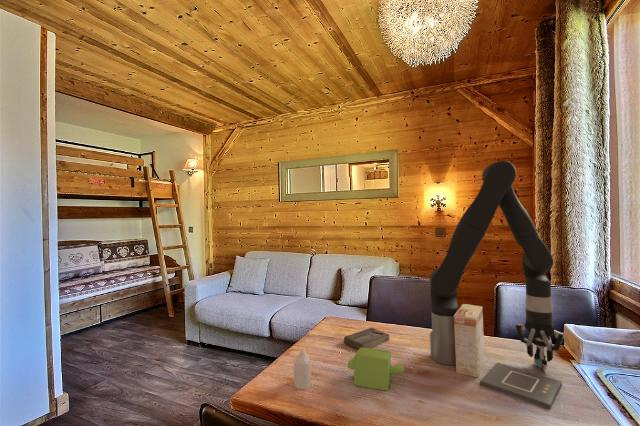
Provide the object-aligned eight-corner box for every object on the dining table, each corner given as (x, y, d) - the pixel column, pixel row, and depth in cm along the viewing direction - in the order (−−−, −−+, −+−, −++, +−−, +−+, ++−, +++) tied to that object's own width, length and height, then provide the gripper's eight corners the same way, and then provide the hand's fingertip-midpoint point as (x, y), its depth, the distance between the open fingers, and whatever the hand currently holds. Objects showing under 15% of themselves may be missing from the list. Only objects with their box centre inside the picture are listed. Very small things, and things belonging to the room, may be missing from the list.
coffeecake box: (464, 355, 119) (462, 303, 119) (485, 359, 115) (483, 306, 114) (455, 372, 106) (452, 314, 106) (478, 378, 102) (476, 318, 102)
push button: (554, 372, 103) (554, 342, 103) (535, 370, 105) (536, 340, 104) (545, 362, 110) (545, 334, 110) (527, 360, 111) (528, 332, 111)
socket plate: (480, 384, 99) (480, 380, 99) (497, 365, 110) (497, 362, 110) (550, 409, 86) (550, 404, 86) (562, 385, 97) (561, 381, 97)
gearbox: (405, 379, 105) (405, 350, 105) (403, 394, 95) (402, 362, 96) (352, 370, 111) (352, 343, 111) (345, 384, 101) (345, 354, 102)
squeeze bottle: (292, 345, 105) (308, 343, 106) (293, 381, 105) (310, 378, 106) (293, 352, 99) (311, 350, 100) (295, 390, 99) (312, 388, 100)
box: (343, 343, 132) (343, 336, 132) (371, 333, 143) (371, 326, 143) (362, 352, 124) (362, 344, 124) (390, 341, 135) (390, 333, 135)
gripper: (511, 306, 110) (512, 355, 110) (562, 315, 99) (564, 369, 99) (517, 301, 115) (519, 348, 115) (567, 310, 105) (568, 361, 105)
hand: (540, 358), depth 107 cm, fingers closed on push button, 4 cm apart
